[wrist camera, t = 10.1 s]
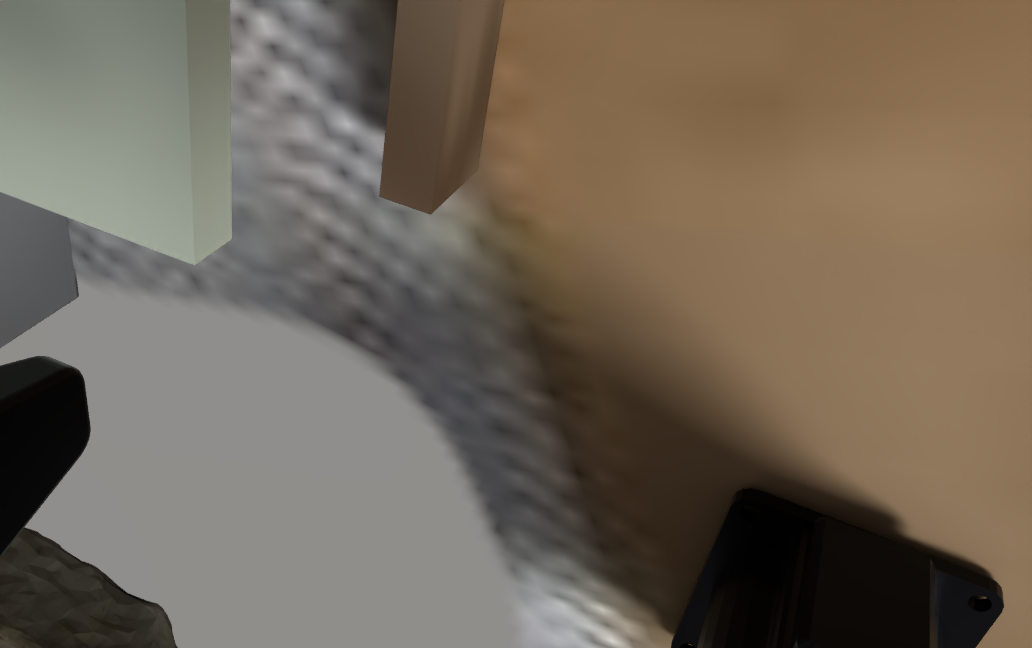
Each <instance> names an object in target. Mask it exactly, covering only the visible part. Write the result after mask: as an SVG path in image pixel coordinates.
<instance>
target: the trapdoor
mask: <svg viewBox="0 0 1032 648" xmlns="http://www.w3.org/2000/svg"><path fill="white" fill-rule="evenodd" d="M0 192H2V193H4V194H7V195H10V196H12V197H15V198H18V199H20V200H23V201H25V202H28V203H31V204H33V205H36V206H39V207H41V208H44V209H47V210H49V211H52V212H54V213H57V214H60V215H62V216H65V217H68V218H70V219H73V220H76V221H78V222H81V223H84V224H86V225H89V226H91V227H94V228H97V229H99V230H102V231H105V232H107V233H110V234H113V235H115V236H118V237H120V238H123V239H126V240H128V241H131V242H134V243H136V244H139V245H142V246H144V247H147V248H150V249H152V250H155V251H157V252H160V253H163V254H165V255H168V256H171V257H173V258H176V259H179V260H181V261H184V262H187V263H189V264H192V265H194V266H195V265H196V264H198V263H199V262H200V261H202V260H203V259H205V258H206V257H207V256H209V255H210V254H212V253H213V252H214V251H216V250H217V249H219V248H220V247H221V246H223V245H224V244H226V243H227V242H228V241H230V240H231V239H232V178H231V46H230V0H0Z"/></svg>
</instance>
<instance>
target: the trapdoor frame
mask: <svg viewBox="0 0 1032 648" xmlns="http://www.w3.org/2000/svg"><path fill="white" fill-rule="evenodd" d="M503 5H504V0H398V6H397V16H396V27H395V37H394V48H393V58H392V69H391V79H390V90H389V100H388V111H387V121H386V132H385V142H384V153H383V163H382V174H381V185H380V195H379V197H381V198H384V199H387V200H390V201H393V202H396V203H399V204H402V205H405V206H407V207H410V208H413V209H416V210H419V211H422V212H425V213H428V214H432V213H433V212H434V211H435V210H436V209H437V208H438V207H439V206H440V205H441V204H442V203H443V202H445V201H446V200H447V199H448V198H449V197H450V196H451V195H452V194H453V193H454V192H455V191H456V190H457V189H458V188H459V187H460V186H461V185H462V184H464V183H465V182H466V181H467V180H468V179H469V178H470V177H471V176H472V175H473V174H474V173H475V172H476V171H477V168H478V162H479V155H480V149H481V143H482V137H483V130H484V124H485V118H486V112H487V105H488V99H489V93H490V87H491V80H492V74H493V68H494V62H495V55H496V49H497V43H498V37H499V30H500V24H501V18H502V12H503Z"/></svg>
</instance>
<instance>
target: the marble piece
mask: <svg viewBox="0 0 1032 648" xmlns="http://www.w3.org/2000/svg"><path fill="white" fill-rule="evenodd" d="M0 648H177V646H176V644H175V640H174V636H173V632H172V624H171V622H170V620H169V618H168V615H167V614H166V612H165V611H164V609H163V608H162V607H161V606H160V605H159V604H157V603H154V602H150V601H146V600H144V599H142V598H139V597H136V596H134V595H131V594H129V593H127V592H126V591H125V590H123V589H122V588H121V587H120V586H118V585H117V584H116V583H115V582H114V581H113V580H112V579H110V578H109V577H108V576H107V575H106V574H105V573H103V572H102V571H101V570H100V569H98V568H97V567H95V566H94V565H92V564H89V563H86V562H83V561H81V560H80V559H78V558H76V557H75V556H73V555H72V554H70V553H69V552H67V551H66V550H64V549H63V548H62V547H61V546H60V545H59V544H58V543H56V542H54V541H53V540H51V539H49V538H47V537H45V536H42V535H41V534H40V533H38V532H37V531H34V530H31V529H28V528H23V529H22V531H21V532H20V533H19V534H18V536H17V537H16V538H15V539H14V541H13V542H12V543H11V545H10V546H9V547H8V548H7V550H6V551H5V552H4V553H3V555H2V556H1V557H0Z"/></svg>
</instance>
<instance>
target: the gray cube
mask: <svg viewBox="0 0 1032 648" xmlns="http://www.w3.org/2000/svg"><path fill="white" fill-rule="evenodd" d="M78 297H79V292H78V284H77V276H76V275H75V274H74V269H73V261H72V253H71V245H70V237H69V229H68V222H67V217H65V216H62V215H60V214H57V213H54V212H52V211H49V210H47V209H44V208H41V207H39V206H36V205H33V204H31V203H28V202H25V201H23V200H20V199H18V198H15V197H12V196H10V195H7V194H4V193H2V192H0V348H1V347H2V346H4V345H6V344H7V343H9V342H10V341H12V340H13V339H15V338H16V337H18V336H19V335H21V334H22V333H24V332H26V331H27V330H28V329H30V328H32V327H33V326H35V325H36V324H37V323H39V322H41V321H42V320H44V319H45V318H47V317H49V316H50V315H51V314H53V313H55V312H56V311H58V310H59V309H61V308H62V307H64V306H65V305H67V304H68V303H70V302H71V301H73V300H75V299H76V298H78Z"/></svg>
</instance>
